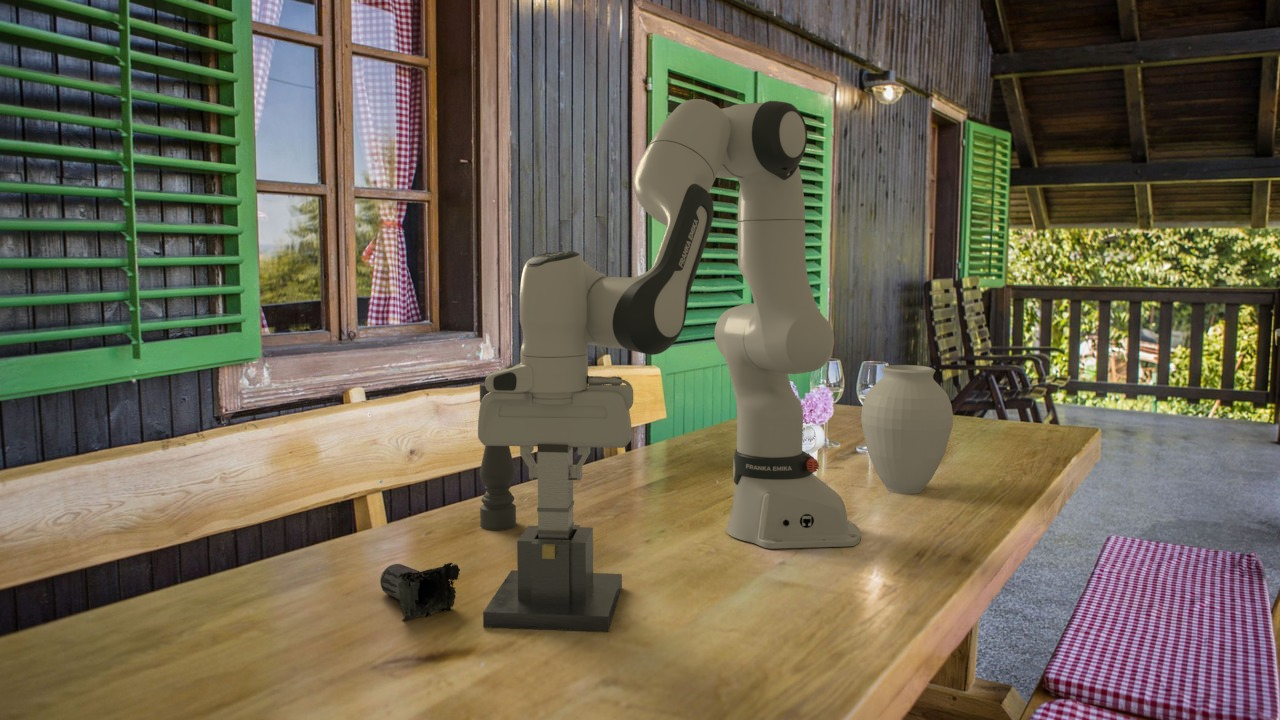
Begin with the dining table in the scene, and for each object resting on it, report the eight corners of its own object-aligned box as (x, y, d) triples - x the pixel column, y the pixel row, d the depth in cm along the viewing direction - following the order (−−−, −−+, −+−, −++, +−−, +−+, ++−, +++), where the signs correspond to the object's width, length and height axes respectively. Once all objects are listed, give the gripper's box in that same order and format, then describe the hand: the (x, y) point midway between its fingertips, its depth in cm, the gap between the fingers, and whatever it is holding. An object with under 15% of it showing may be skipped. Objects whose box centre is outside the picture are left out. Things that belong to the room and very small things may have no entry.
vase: (852, 495, 186) (856, 370, 183) (866, 476, 202) (869, 361, 199) (946, 504, 179) (951, 374, 176) (953, 484, 195) (957, 365, 193)
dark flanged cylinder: (455, 620, 125) (412, 600, 134) (462, 562, 126) (418, 546, 135) (394, 625, 119) (352, 604, 128) (401, 564, 120) (359, 547, 129)
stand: (621, 587, 134) (621, 519, 133) (608, 631, 118) (608, 554, 117) (511, 583, 135) (510, 516, 134) (483, 627, 119) (482, 550, 118)
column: (574, 561, 128) (574, 439, 126) (569, 572, 124) (568, 445, 122) (543, 560, 128) (542, 438, 126) (537, 571, 124) (536, 444, 122)
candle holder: (509, 531, 161) (507, 387, 158) (475, 529, 162) (472, 386, 160) (520, 521, 167) (519, 382, 164) (487, 519, 168) (485, 381, 166)
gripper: (635, 373, 125) (635, 474, 127) (485, 372, 127) (487, 472, 129) (630, 379, 119) (631, 486, 121) (473, 378, 121) (475, 483, 122)
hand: (555, 479), depth 125 cm, fingers open, 4 cm apart
